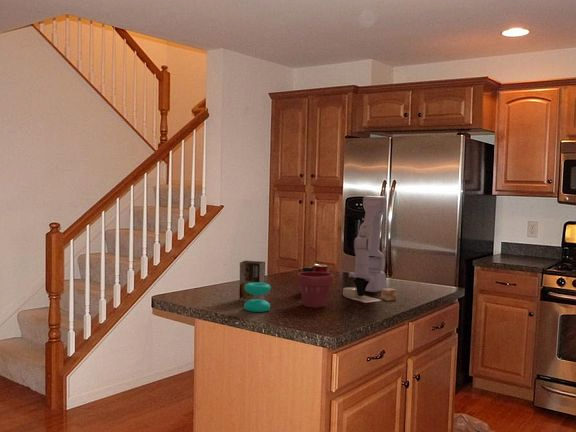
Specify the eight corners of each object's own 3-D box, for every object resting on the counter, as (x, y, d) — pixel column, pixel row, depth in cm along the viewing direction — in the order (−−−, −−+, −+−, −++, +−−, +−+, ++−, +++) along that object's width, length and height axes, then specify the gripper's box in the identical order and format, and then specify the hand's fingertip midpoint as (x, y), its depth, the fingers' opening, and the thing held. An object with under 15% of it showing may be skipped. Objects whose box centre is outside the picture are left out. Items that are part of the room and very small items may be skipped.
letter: (361, 294, 257) (361, 294, 257) (383, 300, 245) (383, 300, 245) (344, 296, 251) (344, 296, 251) (365, 302, 240) (365, 302, 239)
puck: (352, 293, 259) (352, 286, 259) (365, 296, 253) (365, 289, 253) (339, 295, 255) (339, 288, 254) (351, 297, 248) (351, 291, 248)
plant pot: (297, 301, 240) (298, 270, 239) (330, 302, 239) (331, 271, 238) (296, 308, 225) (297, 275, 225) (332, 309, 225) (333, 277, 224)
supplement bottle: (313, 292, 259) (314, 266, 258) (316, 295, 252) (317, 268, 251) (298, 292, 258) (299, 266, 257) (301, 295, 251) (302, 268, 250)
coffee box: (264, 300, 239) (265, 261, 239) (259, 303, 233) (260, 263, 232) (244, 298, 242) (245, 260, 242) (238, 300, 236) (239, 261, 235)
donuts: (248, 281, 226) (273, 282, 224) (247, 306, 227) (272, 308, 225) (241, 285, 216) (267, 287, 214) (241, 311, 217) (267, 313, 215)
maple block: (388, 298, 251) (388, 288, 251) (396, 300, 248) (396, 289, 247) (381, 299, 249) (381, 288, 248) (388, 301, 245) (388, 290, 245)
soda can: (326, 293, 258) (327, 266, 257) (310, 292, 260) (311, 265, 259) (328, 290, 265) (329, 264, 265) (313, 289, 267) (313, 263, 266)
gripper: (343, 262, 252) (342, 293, 253) (366, 267, 240) (365, 299, 241) (356, 262, 256) (355, 292, 257) (378, 266, 244) (377, 298, 245)
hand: (360, 295), depth 249 cm, fingers closed
